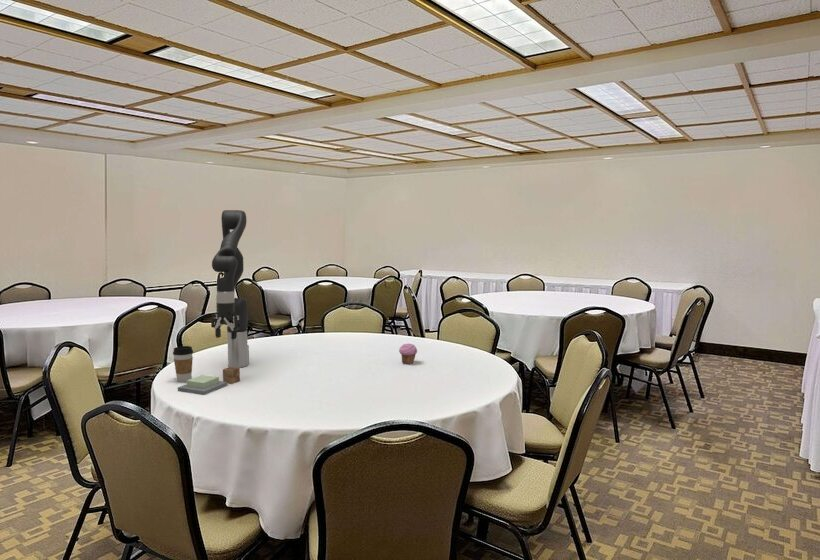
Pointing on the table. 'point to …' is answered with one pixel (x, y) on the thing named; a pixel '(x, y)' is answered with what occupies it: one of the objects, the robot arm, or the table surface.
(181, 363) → the coffee cup
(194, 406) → the table surface
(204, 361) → the table surface
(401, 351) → the cupcake
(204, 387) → the stack base
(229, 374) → the walnut block
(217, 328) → the robot arm
